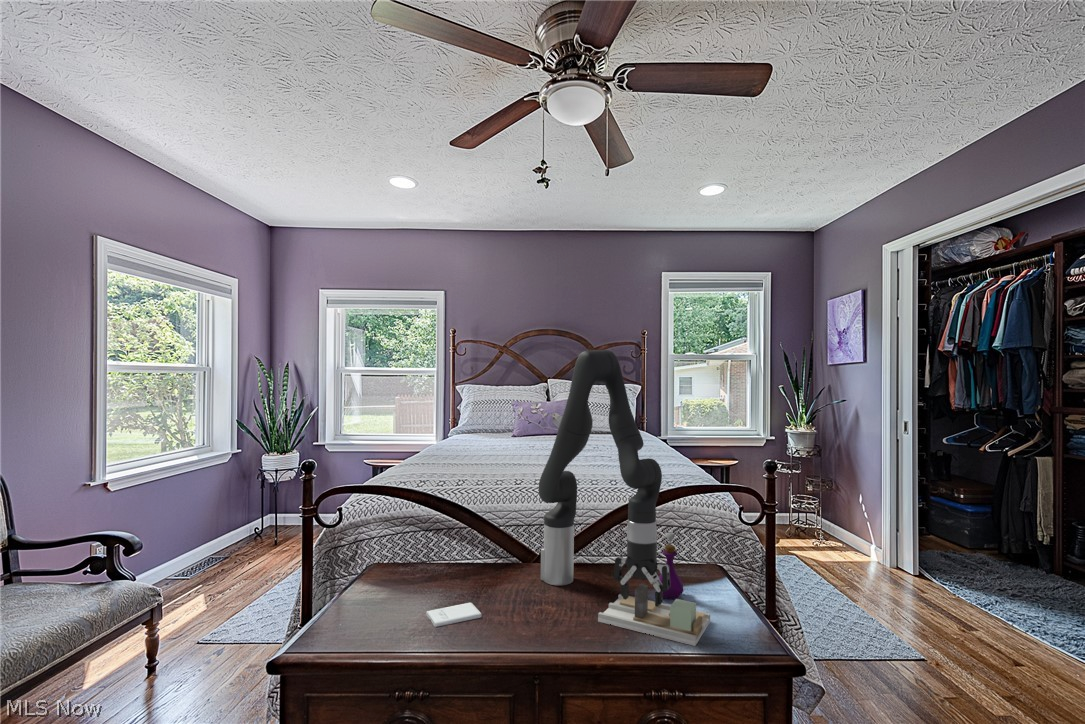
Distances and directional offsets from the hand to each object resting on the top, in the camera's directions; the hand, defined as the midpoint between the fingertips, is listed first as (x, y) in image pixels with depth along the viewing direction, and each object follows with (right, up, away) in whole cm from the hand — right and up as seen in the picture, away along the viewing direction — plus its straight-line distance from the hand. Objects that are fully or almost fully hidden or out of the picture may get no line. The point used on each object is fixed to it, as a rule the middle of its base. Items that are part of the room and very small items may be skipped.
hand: (641, 602), depth 144 cm
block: (+9, -3, -5) cm, 11 cm away
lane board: (+4, -6, +2) cm, 7 cm away
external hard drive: (-49, -6, +4) cm, 49 cm away
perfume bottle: (+11, -6, +19) cm, 23 cm away
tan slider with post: (+6, -5, -3) cm, 8 cm away
